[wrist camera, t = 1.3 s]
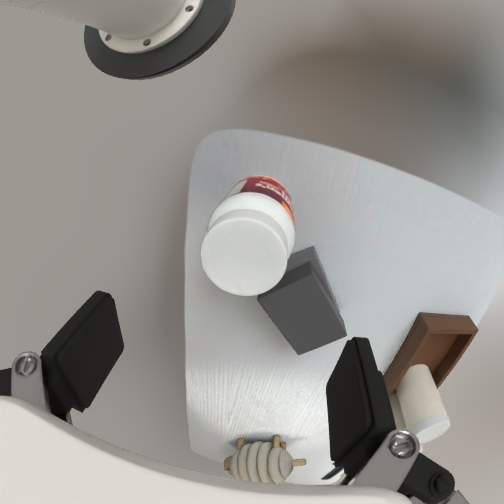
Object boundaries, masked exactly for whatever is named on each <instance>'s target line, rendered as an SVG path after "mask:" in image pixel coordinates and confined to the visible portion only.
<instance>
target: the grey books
mask: <svg viewBox="0 0 504 504" xmlns="http://www.w3.org/2000/svg"><path fill="white" fill-rule="evenodd" d="M257 300H258V302H259V303H260V305H261V306H262V307H263V309H264V310H265V311H266V313H267V314H268V315H269V317H270V318H271V319H272V321H273V322H274V323H275V325H276V326H277V327H278V329H279V330H280V331H281V333H282V334H283V335H284V337H285V338H286V339H287V341H288V342H289V343H290V345H291V346H292V347H293V349H294V350H295V351H296V353H297V354H298V355H300V354H303V353H306V352H308V351H311V350H314V349H316V348H319V347H321V346H324V345H326V344H329V343H331V342H333V341H336V340H338V339H341V338H343V337H345V336H347V333H346V329H345V325H344V321H343V319H342V317H341V315H340V311H339V309H338V306H337V303H336V301H335V298H334V296H333V293H332V290H331V288H330V285H329V283H328V280H327V278H326V275H325V273H324V270H323V268H322V265H321V263H320V260H319V258H318V256H317V253H316V251H315V248H314V246H312V247H309V248H307V249H304V250H302V251H299V252H297V253H294V254H292V255H290V257H289V259H288V260H287V267H286V270H285V273H284V275H283V277H282V278H281V280H280V281H279V282H278V283H277V284H276V285H275V286H274V287H273V288H271V289H270V290H268V291H266V292H264V293H262V294H258V297H257Z"/></svg>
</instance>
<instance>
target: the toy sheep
mask: <svg viewBox="0 0 504 504" xmlns="http://www.w3.org/2000/svg"><path fill="white" fill-rule="evenodd" d="M279 446H280V447H279ZM305 464H306V459H296V460H293V459H292V457H291V455H290V454H289V453H288V452H287V451H286V443H281V444H280V436H279V435H275V436H274V440H273V443H271V442H261V441H256V442H254V443H253V444H246V445H244V439H243V438H239V439H238V445H237V451H236V452H235V453H234V454H233V456H229V457H227V458H226V459H225V461H224V467H225V470H227V471H228V472H229V473H230V474H231V475H233V477H234V479H238V480H246V481H253V482H263V483H274V484H276V483H282V482H284V481H285V480H286V478H287V477H288V476H289V475H290V474H291V472H292V470H293V466H302V465H305Z"/></svg>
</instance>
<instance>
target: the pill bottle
mask: <svg viewBox="0 0 504 504" xmlns="http://www.w3.org/2000/svg"><path fill="white" fill-rule="evenodd" d="M294 242H295V227H294V215H293V206H292V201H291V197H290V195H289V193H288V191H287V190H286V188H285V187H284V186H283V185H282V184H281V183H280V182H278V181H277V180H275V179H273V178H271V177H268V176H262V175H256V176H250V177H247V178H245V179H243V180H241V181H240V182H238V183H237V184H236V185H235V186H234V187H233V188H232V189H231V191H230V192H229V193H228V194H227V195H226V197H225V198H224V199H223V200H222V202H221V203H220V204H219V205H218V206H217V207H216V209H215V210H214V212H213V214H212V215H211V217H210V220H209V222H208V226H207V234H206V236H205V238H204V239H203V242H202V245H201V251H200V257H201V263H202V267H203V269H204V271H205V273H206V275H207V276H208V278H209V279H210V280H211V281H212V282H213V283H214V284H215V285H216V286H217V287H219V288H220V289H222V290H224V291H226V292H228V293H231V294H234V295H239V296H254V295H258V294H262V293H264V292H266V291H268V290H270V289H271V288H273V287H274V286H275V285H276V284H277V283H278V282H279V281H280V280H281V278H282V277H283V275H284V273H285V270H286V267H287V260H288V259H289V257H290V255H291V253H292V250H293V247H294Z"/></svg>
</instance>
